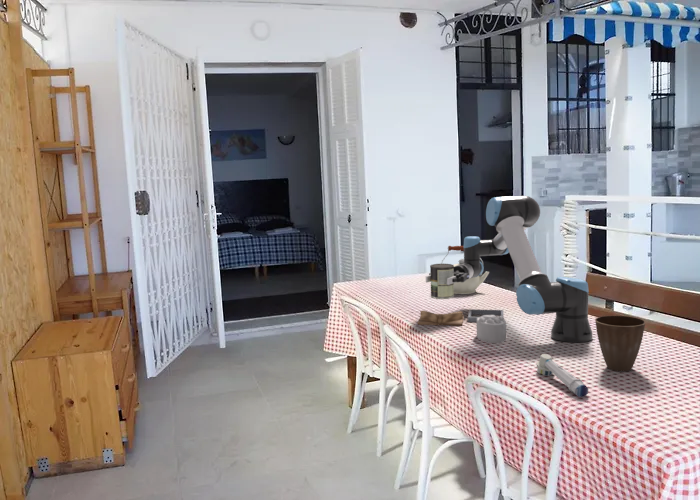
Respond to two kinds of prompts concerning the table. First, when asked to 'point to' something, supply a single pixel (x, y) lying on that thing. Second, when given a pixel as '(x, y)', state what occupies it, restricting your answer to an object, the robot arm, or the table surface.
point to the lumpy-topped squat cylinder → (491, 329)
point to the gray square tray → (486, 312)
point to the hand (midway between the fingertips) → (436, 280)
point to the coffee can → (441, 281)
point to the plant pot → (620, 340)
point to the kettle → (469, 284)
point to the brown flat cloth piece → (441, 318)
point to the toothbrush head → (561, 375)
